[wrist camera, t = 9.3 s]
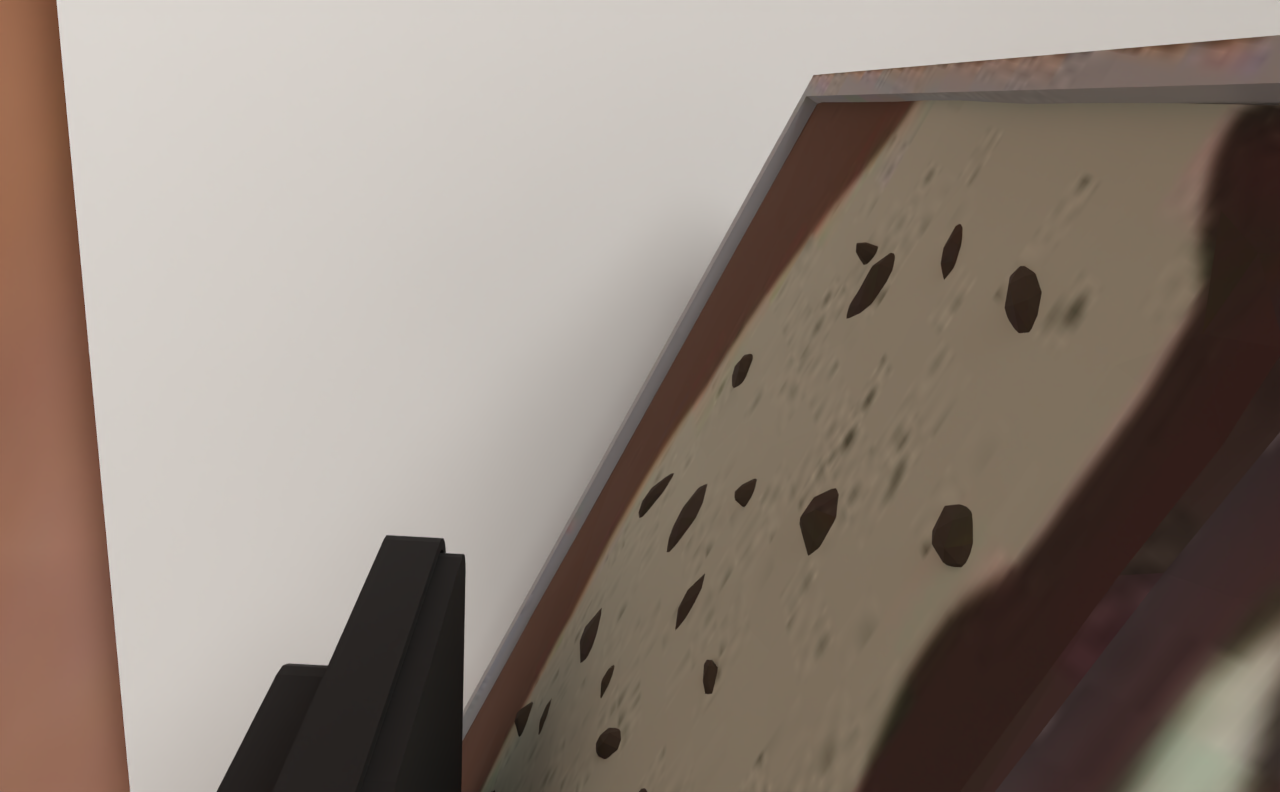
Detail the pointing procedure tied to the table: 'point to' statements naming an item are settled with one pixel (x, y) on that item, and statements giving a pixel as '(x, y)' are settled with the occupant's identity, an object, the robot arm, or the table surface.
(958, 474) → the food container
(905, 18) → the platter
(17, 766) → the table surface
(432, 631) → the robot arm
